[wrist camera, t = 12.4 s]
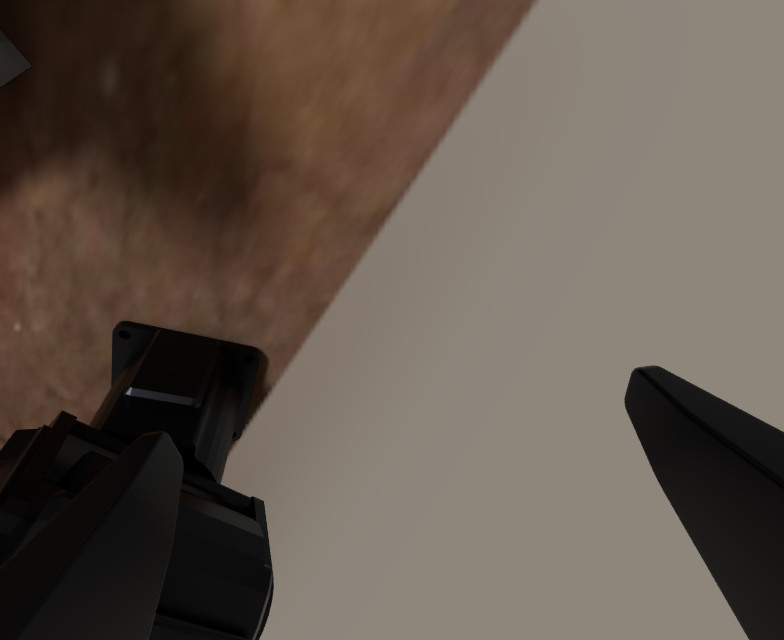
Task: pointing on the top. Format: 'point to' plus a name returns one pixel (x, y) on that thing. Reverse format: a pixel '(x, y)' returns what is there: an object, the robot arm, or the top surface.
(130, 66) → the top surface
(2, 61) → the channel
